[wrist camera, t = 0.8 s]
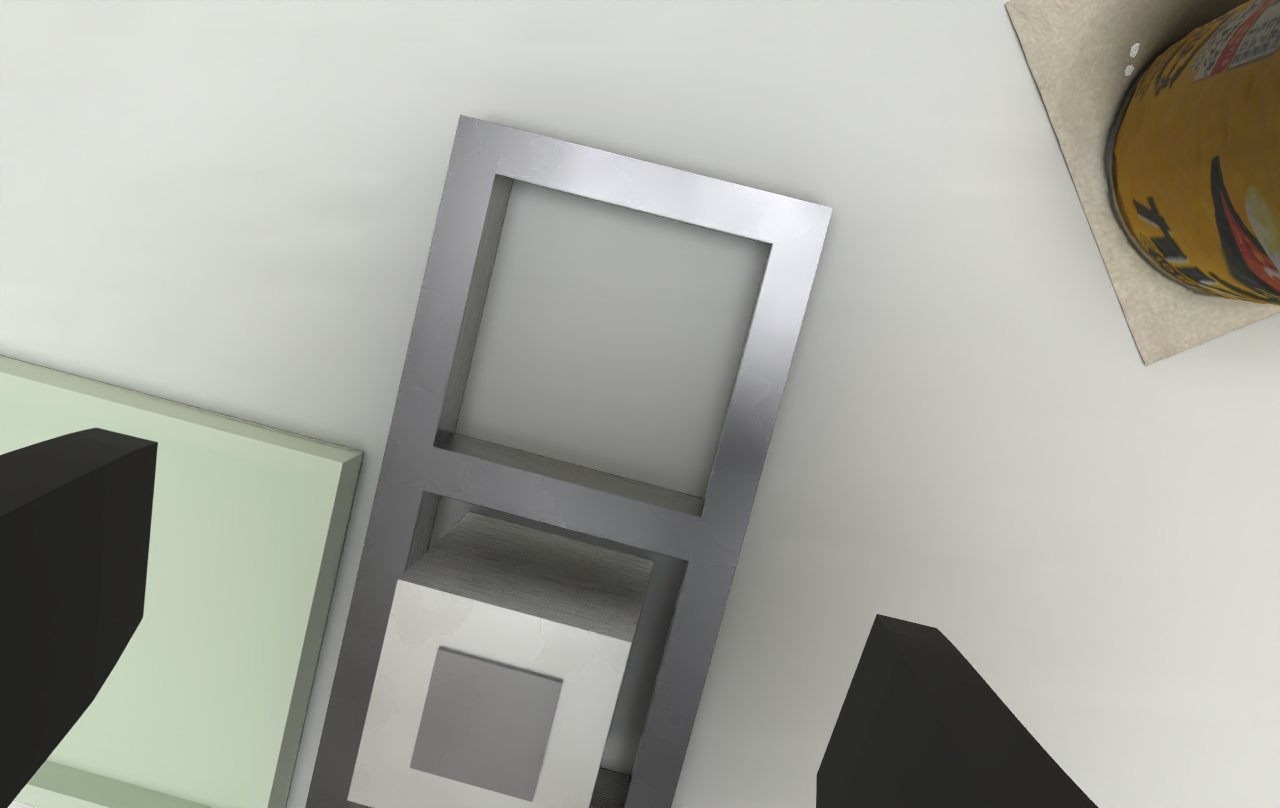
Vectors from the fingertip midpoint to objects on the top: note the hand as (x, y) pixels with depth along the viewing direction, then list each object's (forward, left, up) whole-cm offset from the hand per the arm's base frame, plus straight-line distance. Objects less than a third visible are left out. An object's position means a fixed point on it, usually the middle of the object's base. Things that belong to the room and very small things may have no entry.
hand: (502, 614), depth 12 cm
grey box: (-6, +1, -16) cm, 17 cm away
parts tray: (-8, +11, -16) cm, 21 cm away
